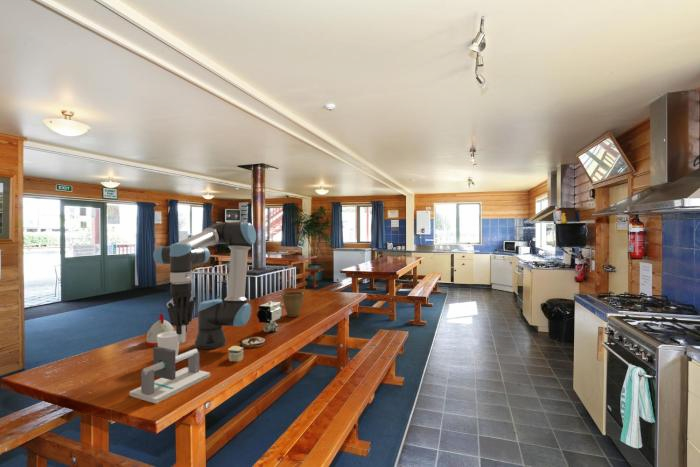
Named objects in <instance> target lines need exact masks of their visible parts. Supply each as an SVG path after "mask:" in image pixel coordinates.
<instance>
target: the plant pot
mask: <svg viewBox="0 0 700 467" xmlns="http://www.w3.org/2000/svg"><path fill="white" fill-rule="evenodd" d="M282 299H283V305H284V308H285V311H286V314H287V316H288V317H290V318H295V317H299V315H300V312H301V309H302V305H303V302H304V292H303V291H286V292H283V293H282Z"/></svg>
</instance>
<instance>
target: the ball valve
mask: <svg viewBox="0 0 700 467" xmlns="http://www.w3.org/2000/svg"><path fill="white" fill-rule="evenodd" d="M282 316H283V306H282V301H272V300H268V302H266V303H262V304H260V305H259V306H258V311H257V313H256V317H257V319H258V323H264V325H263V329H262V330H263V331H264V333H270V332H277V331H278V330H279V324H278V323H277V322H276V321H277V320H279V319H281V318H282Z"/></svg>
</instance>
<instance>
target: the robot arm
mask: <svg viewBox="0 0 700 467" xmlns="http://www.w3.org/2000/svg"><path fill="white" fill-rule="evenodd" d="M256 240H257V231H256V229H255V227H254V225H253V224H251V222H243V221H241V222H240V221H239V222H231V221H230V222H227V221H226V222H220V223H216V224H214V225H210V226H209V227H205V228H204V229H203V230H202V231H201V232H199V233H197V234H195V235H192V236H190V237H188V238H185V239H182V240H180V241H177V242H176V243H172V244H170V245H168V246H167V245H166V246H165V245H163V246H158V247H156V248H155V249H154V251H153V253H152V256H153V261H154V262H155V263H156V264H159V265H169V267H170V270H169V282H170V284H169V285H170V286H169V287H170V294H171V296H170V300H169V301H168V302H165V303H164V306H165V307H166V309H167V313H168V317H169V321H170V324H171V325H172V326H173V327H174V326H175V328H176V329H175V331H176V333H177V334H178V342H179V343H183V344H184V343H186V341H187V331H188V325H190V323H191V322H192V319H193V312H194V308H195V303H196V301H197V297H195V296H193V295H192V293H191V292H192V284H193V283H192V266H196V265H197V266H198V265H203V264H205V263H208V261H209V260H210V258H211V252H210V250H209V249H208V247H209V246H210V247H212V246H215V245H223V244H224V245H227V247H228V248H229V250H230V256H229V257H230V258H229V259H230V261H229V269H228V270H229V272H228V284H227V285H228V287H227V296H226V297H225V298H224V299H221V298H216V299H210V300H204V301H202V302H200V303H199V304H198V307H197V308H198V309H197V320H198V321H197V326H198V328H197V329H198V331H197V334H196V338H195V341H194V349H197V350H214V349H217V348H220V347H223V346H224V345H226V343H227V341H226V340H227V338H226V336H225V333H224V330H223V326H224V327H225V326H226V327H244V326H245V325H247V324H248V322H249V320H250V319H251V315H252V306H251V304H250V303H249V302H248V298H247V297H246V296H245V295H246V285H247V284H246V283H247V270H248V269H247V268H248V256H249V255H248V253H249V251H250V249H252V245H254V244H255V243H256V242H257V241H256Z"/></svg>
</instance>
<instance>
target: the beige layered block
mask: <svg viewBox="0 0 700 467" xmlns="http://www.w3.org/2000/svg"><path fill="white" fill-rule="evenodd" d="M243 349H244V347H243V346H239V345H232V346H230V347H229V348H228V349H227V350H228V352H227V353H228V356H227V357H228V361H229V362H237V363H239V362H241V361H242V360H244V356H245V354H244V351H245V350H243Z"/></svg>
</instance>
